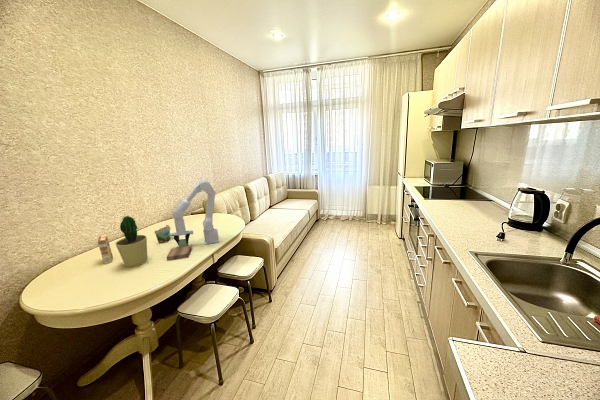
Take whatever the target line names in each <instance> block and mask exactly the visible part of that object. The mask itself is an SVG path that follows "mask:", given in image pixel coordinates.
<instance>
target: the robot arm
mask: <svg viewBox="0 0 600 400" xmlns="http://www.w3.org/2000/svg"><path fill="white" fill-rule="evenodd" d="M201 192H205V193H206V194H207V201H206V207H205V208H206V210H205V216H204V220H203V222H202V225H203V230H202V232H203V237H204V239H203V240H204V242H203V245H209V244H217V243H219V236H220V235H219V231H218V228H215V227H214V225H213V215H214V209H215V208H214V207H215V199H216V191H215V189H214V188H213V185H212V184H211V183H210V182H209V181H208V180H207V179H201V180H199V182H198V183H196V185H194V187H193V189H192V190H191V191H190V193H189V194H188V195H187V197H186V198H184V199H182V200H180V201H179V204H178V205H177V206H175V209H174V210H173V212H172V217H173V219H174V227H175V231H176V232H172V233H171V232H170V234H169V236H170V238H172V237H173V240H174V241H175V242H176V244H177V245H178V246H177V247H179V243H178V242H179V240H180V236H184V239H186V244H187V245H188V246H189V240H190V236H191V235H194V230H187V229H186V224H185V219H184V213H186V211H187V210H188V208H189V207H190V206H191V201H192V200H193V199H194V198H195V196H197V195H198V193H201Z"/></svg>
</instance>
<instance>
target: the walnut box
mask: <svg viewBox="0 0 600 400" xmlns="http://www.w3.org/2000/svg"><path fill="white" fill-rule="evenodd" d="M191 252H192V246H191V245H188V246H187V247H180V248H179V247H175V248H171V249H170V250H169V252H168V253H167V255H166V260H167V261H174V260H182V259H188V258H190V255H191Z"/></svg>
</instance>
